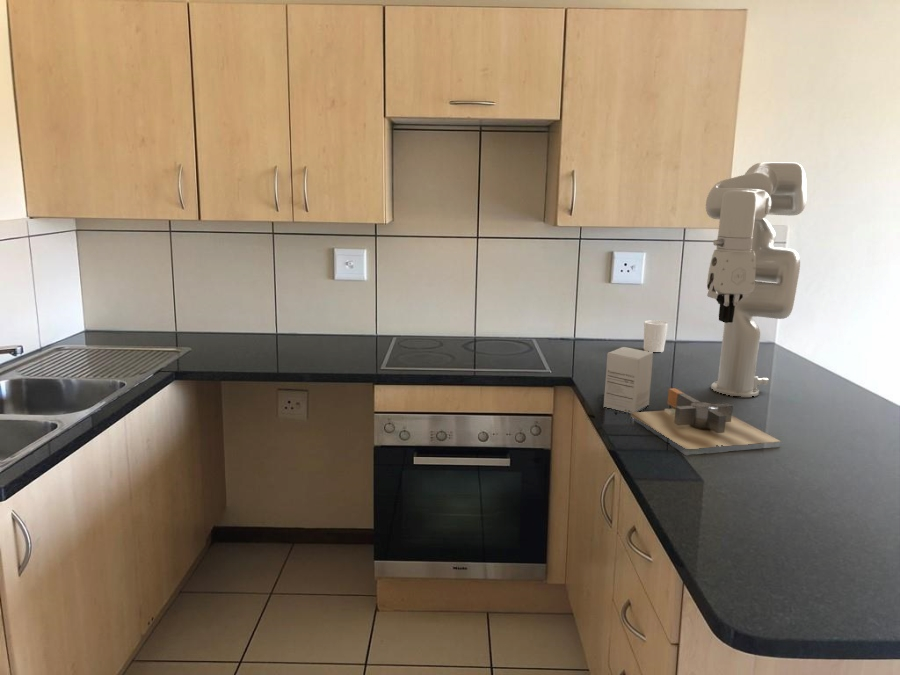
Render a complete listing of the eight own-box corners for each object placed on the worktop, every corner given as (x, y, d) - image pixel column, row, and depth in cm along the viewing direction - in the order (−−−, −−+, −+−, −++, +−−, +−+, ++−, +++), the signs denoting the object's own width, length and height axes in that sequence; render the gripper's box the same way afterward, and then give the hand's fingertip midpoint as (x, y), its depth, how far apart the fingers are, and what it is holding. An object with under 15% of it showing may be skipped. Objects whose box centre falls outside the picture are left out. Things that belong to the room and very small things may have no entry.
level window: (686, 409, 175) (686, 407, 175) (692, 413, 172) (692, 410, 172) (664, 411, 173) (664, 408, 173) (670, 414, 171) (670, 412, 171)
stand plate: (714, 412, 178) (715, 406, 178) (779, 447, 155) (781, 440, 155) (630, 418, 172) (631, 411, 172) (685, 455, 149) (686, 448, 149)
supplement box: (617, 399, 187) (622, 345, 183) (649, 407, 181) (654, 351, 178) (602, 407, 180) (606, 352, 176) (634, 415, 174) (639, 358, 171)
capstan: (645, 408, 175) (647, 389, 174) (694, 404, 178) (696, 387, 177) (693, 438, 155) (695, 418, 154) (747, 434, 158) (749, 414, 157)
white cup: (637, 348, 243) (639, 321, 241) (654, 347, 246) (657, 319, 244) (652, 354, 236) (654, 325, 234) (670, 352, 239) (673, 324, 237)
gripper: (715, 246, 155) (707, 326, 160) (772, 245, 159) (763, 323, 163) (696, 243, 162) (688, 319, 167) (751, 242, 166) (742, 317, 170)
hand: (725, 321), depth 165 cm, fingers closed
